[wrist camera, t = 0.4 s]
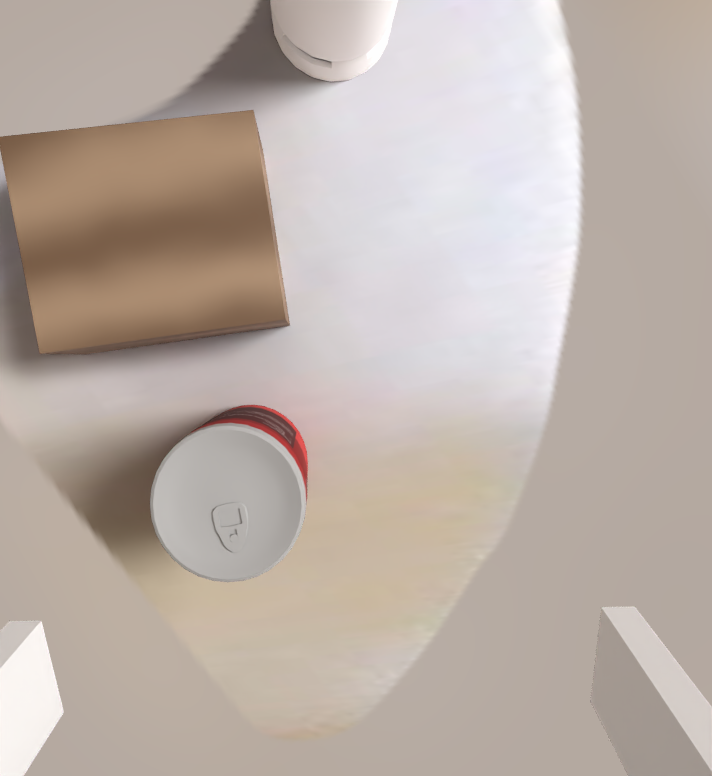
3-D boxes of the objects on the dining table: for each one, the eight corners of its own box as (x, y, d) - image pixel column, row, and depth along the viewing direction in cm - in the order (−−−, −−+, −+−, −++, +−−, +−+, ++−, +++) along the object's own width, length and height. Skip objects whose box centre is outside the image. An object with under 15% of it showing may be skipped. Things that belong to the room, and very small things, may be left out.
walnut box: (54, 176, 33) (-2, 137, 27) (263, 152, 34) (253, 110, 28) (87, 354, 34) (39, 353, 28) (289, 325, 35) (285, 319, 29)
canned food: (229, 532, 36) (192, 610, 25) (178, 432, 35) (117, 466, 24) (326, 485, 36) (333, 541, 25) (278, 385, 35) (264, 398, 24)
